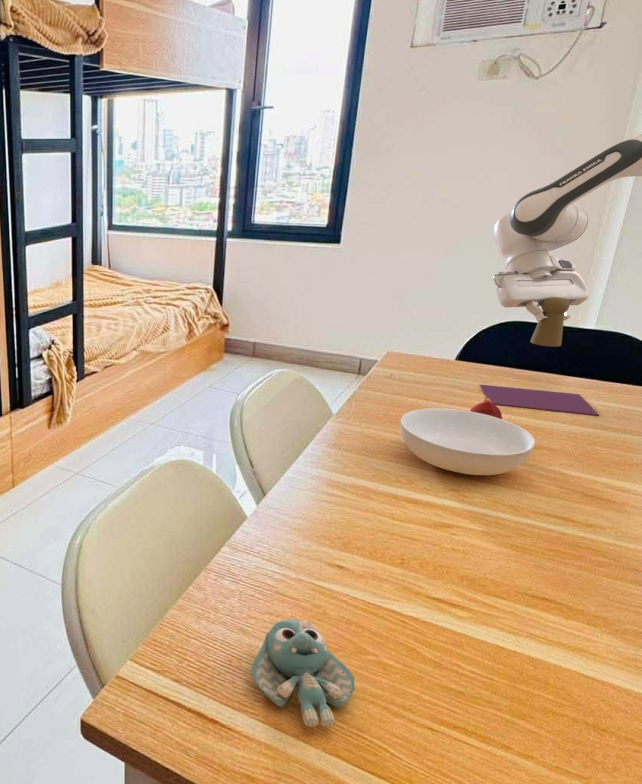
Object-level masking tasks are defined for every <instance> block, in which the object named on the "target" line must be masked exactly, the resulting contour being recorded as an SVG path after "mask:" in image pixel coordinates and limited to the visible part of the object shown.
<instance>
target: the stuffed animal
mask: <svg viewBox="0 0 642 784" xmlns="http://www.w3.org/2000/svg"><path fill="white" fill-rule="evenodd" d="M250 676H251V677H252V679H253V680H254V682H255V684H256V686H257V687H258V688H259V690H260V692H261V693H262V694H263V695H264V696H265V697H266V698H268V700H269V701H271V702H272V703H273V704H274V705H275V706H277V707H279V708H281V709H282V708H283V707H284V706H285V705H286V704H287V702H288V701H289V700H290V698H291V697H292V694H293V692H294V691H295V687H296V685H297V688H296V698H297V700H298V703H299V704H300V705H301V707H300V711H301V712H300V713H301V716H302V721H303V724H304V726H306V727H310V728H315V727H317V726H318V725H319V724H321V727H324V728H333V727H334V726H335V725H336V720H335V717H334V712H333V711H332V709H331V707H330V706H329V705H331V706H333V707H334V708H336V709H337V710H339V709H341V708H342V707H344V706H345V705H346V704H347V703H348V701H349V700H350V698H351V697H352V695H353V693H354V691H355V676H354V675H353V673H351V671H350V669H349V668H348V667H347V666H346V665H345V664H344V663H342V661H340V659H338V658H337V657H336V656H335V655H334V654H333V653H332V652H331V651H330V650H329V647H328V645H327V641H326V638H325V637H324V636H323V634H322V633H321V632H320V631H319V630H318V627H316V625H314V624H313V623H312V622H310V621H307V620H296V619H285V620H279V621H277V622H276V623H274V624H273V625H272V627H271V628H270V630H269V631H268V632H267V633H266V635H265V637H264V640H263V642H262V645H261V647H260V649H259V651H258V653H257V655H256V656H255V659H254V661H253V663H252V664H251V671H250ZM285 676H286V677H287V678H289V679H286V677H285ZM327 703H328V704H327ZM316 708H317V710H316Z"/></svg>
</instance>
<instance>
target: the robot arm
mask: <svg viewBox="0 0 642 784" xmlns="http://www.w3.org/2000/svg"><path fill="white" fill-rule="evenodd" d="M630 177H642V132H640V133H638V134H636V135H635V136H632V137H630V138H629V139H626V140H623V141H621V142H618V143H617V144H615V145H612V146H610V147H609V148H606V149H605V150H603V151H602V152H600V153H599V154H597V155H595V156H594V157H592V158H590V159H589V160H586V161H585V162H584V163H582V164H581V165H579V166H578V167H576V168H574V169H572V170H571V171H569V172H568V173H566V174H565V175H563V176H561V177H560V178H559V179H557V180H555V181H553V182H552V183H549V184H548V185H546V186H543V187H540V188H539V189H535V190H531V191H530V192H528V193H526V194H525V195H523V196H522V197H520V198H519V199H518V200H517V201H516V203H515V204H514V205H513V207H512V209H511V211H510V212H509V213H507V214H505V215H504V216H501V218H499V220H497V222H496V223H495V225H494V228H493V238H494V242H495V245H496V248H497V251H498V254H499V255H500V257H501V258H502V259H503V261H504V262H505V269H506V271H499V272H497V273H496V274H494V275H493V278H492V279H493V280H492V281H493V282H494V285H495V290H496V291H495V292H496V295H497V298H498V301H499V304H500V305H501V306H503V307H504V308H526V310H527V312H529V313H530V314H531V315H533V316H534V318H535V319H536V321H537V322H539V321H544V320H546V319H548V315H547V313H546V312H545V311H543V310H542V308H541V305H542V302H543V300H545V299H546V298H549V297H559V298H564V299H567V300H568V301H569V304H570V305H569V306H579V305H580V304H582V303H584V302H585V301H587V300H588V299H589V297H590V291H589V288H588V287H587V284H586V282H585V281H584V278H583V277H582V276H581V275H580V274H579V272H577V271H575V270H576V269H577V266H576V264H575V262H573V261H570V260H565V259H561V258H559V257H556V256H554V255H550V251H555V250H556V249H559V248H562V247H564V246H567V245H569V244H571V243H574V242H575V241H577V240H578V239H579V238H580V237H582V235H583V234H584V233H585V231H586V229H587V227H588V223H589V216H588V214H587V212H586V211H585V210H584V209H583V208H580V207H579V206H577V205H575V204H574V203H576V202H577V201H579V200H580V199H582V198H584V197H586V196H587V195H589V194H591V193H593V192H594V191H595V190H597V189H599V188H600V187H602V186H604V185H606V184H607V183H610V182H613V181H615V180H619V179H622V178H630ZM570 315H571V314H570V313H569V309H568V310H567V311H566V312H565V313H564V321H567V320H568V319H570V317H571V316H570Z"/></svg>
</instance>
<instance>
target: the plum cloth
mask: <svg viewBox="0 0 642 784" xmlns="http://www.w3.org/2000/svg"><path fill="white" fill-rule="evenodd" d="M479 388H481V391H482V392H483V394H484V395H485V398H488V399H490V401H491V402H492V403H493V404H494V405H496V406H503V407H511V408H513V407H514V408H521V409H532V410H540V411H548V412H549V411H550V412H558V413H566V414H568V413H569V414H577V415H587V416H597V417H599V416H600V413H598V412H597V411H596V409H594V408H593V406H592V405H590V404H589V402H587V401H586V400H585V398H584V397H583V396H582V395H580V393H571V392H561V391H560V392H558V391H552V390H551V391H550V390H541V389H540V390H539V389H530V388H520V387H511V386H510V387H509V386H500V385H492V384H491V385H490V384H482V383H481V384H479Z"/></svg>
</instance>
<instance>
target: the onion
mask: <svg viewBox="0 0 642 784" xmlns="http://www.w3.org/2000/svg"><path fill="white" fill-rule="evenodd" d="M469 411H471V412H476V413H481V414H486V415H489V416H493V417H496V418H499V419H502V420H503V415H502V412H501V410H500V409H499V407H498V405H494V404H493V403H492V402H491V401H490V399H488V398H487V397H485V398H484V401H482V402H479V403H476V405H474V406H473V407H471V408H470V409H469Z"/></svg>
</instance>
